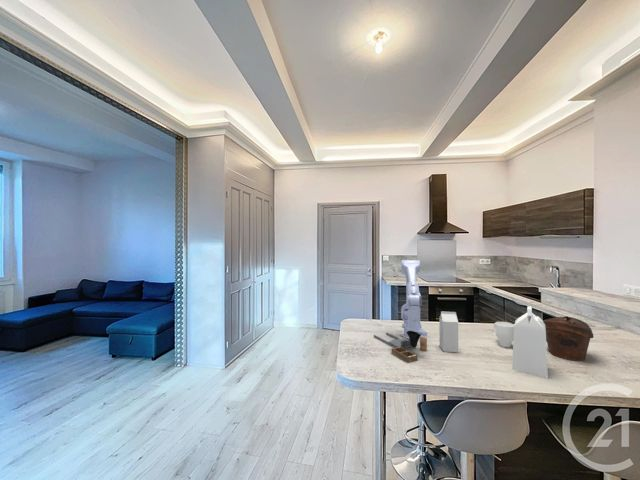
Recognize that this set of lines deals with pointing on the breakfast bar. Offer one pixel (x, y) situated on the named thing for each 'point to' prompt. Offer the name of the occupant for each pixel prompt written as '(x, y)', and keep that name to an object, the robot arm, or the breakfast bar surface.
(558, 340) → the case
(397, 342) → the cover
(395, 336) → the pattern board
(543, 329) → the milk
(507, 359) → the breakfast bar surface
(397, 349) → the socket board
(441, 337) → the milk carton
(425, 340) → the peg
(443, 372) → the breakfast bar surface
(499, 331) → the mug
